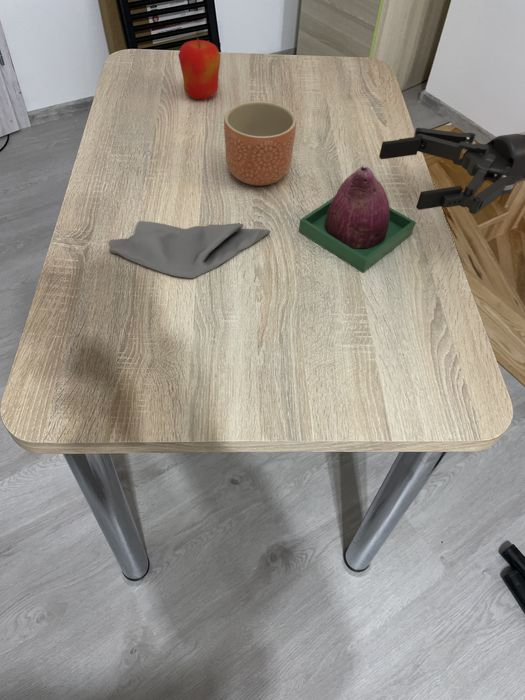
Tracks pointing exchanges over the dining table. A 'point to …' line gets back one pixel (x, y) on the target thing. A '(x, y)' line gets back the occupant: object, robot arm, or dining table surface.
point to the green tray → (358, 258)
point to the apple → (200, 68)
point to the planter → (259, 141)
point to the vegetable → (359, 211)
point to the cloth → (184, 246)
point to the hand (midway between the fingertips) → (399, 174)
